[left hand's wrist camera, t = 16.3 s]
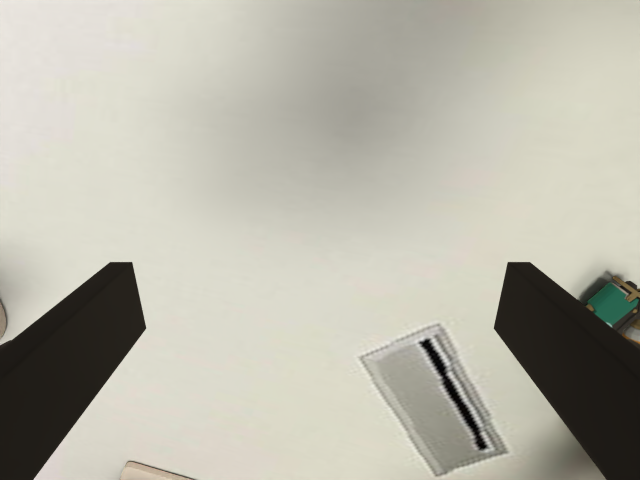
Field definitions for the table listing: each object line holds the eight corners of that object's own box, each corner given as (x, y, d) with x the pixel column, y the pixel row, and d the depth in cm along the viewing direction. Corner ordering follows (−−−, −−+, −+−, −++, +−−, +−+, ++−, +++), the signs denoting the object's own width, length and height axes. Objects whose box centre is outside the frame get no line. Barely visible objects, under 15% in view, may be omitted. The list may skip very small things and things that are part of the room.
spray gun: (553, 398, 53) (498, 330, 49) (673, 340, 48) (621, 260, 44) (569, 422, 49) (511, 351, 45) (702, 362, 44) (648, 277, 40)
